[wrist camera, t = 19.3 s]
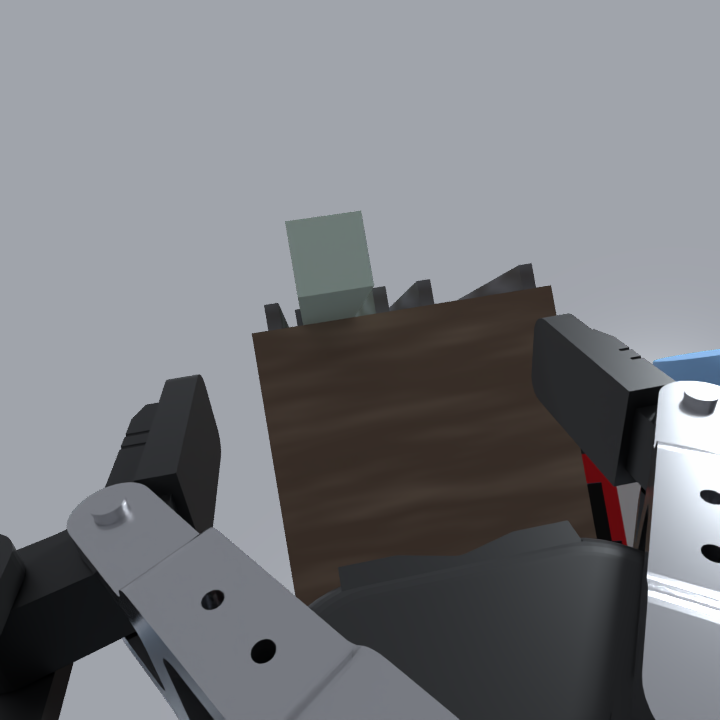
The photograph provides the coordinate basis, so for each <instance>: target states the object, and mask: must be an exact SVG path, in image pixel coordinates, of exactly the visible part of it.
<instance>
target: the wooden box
mask: <svg viewBox="0 0 720 720" xmlns="http://www.w3.org/2000/svg"><path fill="white" fill-rule="evenodd" d="M264 307H265V313H266V319H267V325H268V331H265V332H259V333H252V337H253V343H254V349H255V355H256V361H257V367H258V373H259V379H260V385H261V392H262V397H263V403H264V410H265V416H266V422H267V427H268V433H269V440H270V446H271V452H272V458H273V464H274V470H275V475H276V481H277V488H278V493H279V500H280V506H281V512H282V518H283V524H284V530H285V536H286V542H287V548H288V554H289V560H290V566H291V572H292V578H293V584H294V590H295V596H296V597H297V598H298V599H299V600H300V601H302V602H303V603H304V604H305V605H306V606H309V605H310V604H311V603H313V602H314V601H315V600H317V599H318V598H320V597H321V596H323V595H325V594H326V593H328V592H330V591H332V590H334V589H336V588H338V587H340V586H341V584H340V578H339V571H338V567H342V566H347V565H352V564H356V563H361V562H366V561H371V560H376V559H381V558H386V557H391V556H396V555H411V556H459V555H463V554H466V553H468V552H470V551H472V550H474V549H476V548H479V547H481V546H483V545H485V544H487V543H489V542H492V541H494V540H496V539H498V538H500V537H502V536H504V535H507V534H509V533H511V532H513V531H518V530H523V529H528V528H532V527H537V526H542V525H547V524H552V523H557V522H562V521H567V520H568V521H569V523H570V524H571V526H572V527H573V528H574V530H575V531H576V533H577V534H578V536H579V537H580V538H593V539H597V537H596V532H595V526H594V521H593V515H592V510H591V504H590V498H589V493H588V487H587V482H586V476H585V471H584V465H583V460H582V454H581V449H580V447H579V446H578V445H577V444H576V442H575V441H574V440H573V439H572V438H571V437H570V436H569V434H568V433H567V432H566V431H565V430H564V429H563V427H562V426H561V425H560V424H559V423H558V422H557V421H556V419H555V418H554V417H553V416H552V415H551V414H550V412H549V411H548V410H547V409H546V408H545V407H544V405H543V404H542V403H541V402H540V401H539V400H538V398H537V396H536V394H535V392H534V389H533V385H532V377H531V375H532V357H533V340H534V327H535V323H536V321H537V320H538V319H540V318H545V317H551V316H556V311H555V305H554V300H553V294H552V289H551V286H544V287H538V288H536V286H535V280H534V274H533V269H532V264H531V263H530V264H524V265H519V266H517V267H515V268H514V269H511V270H510V271H508V272H506V273H504V274H503V275H501V276H499V277H497V278H496V279H494V280H492V281H490V282H489V283H487V284H485V285H484V286H481V287H480V288H478V289H476V290H474V291H473V292H471V293H469V294H468V295H466V296H464V297H462V298H460V299H459V300H457V301H451V302H445V303H439V304H434V300H433V294H432V288H431V283H430V280H422V281H417V282H416V283H414V285H412V286H411V287H410V288H409V289H408V290H407V291H406V292H405V293H404V294H403V295H402V296H401V297H400V298H399V299H398V300H397V301H396V302H395V303H394V304H393V305H392V306H391V307H390V308H389V305H388V300H387V294H386V288H385V286H383V287H377V288H372V290H371V291H370V293H369V295H368V296H367V298H366V299H365V301H364V302H363V304H362V306H361V307H360V309H359V310H358V312H357V314H356V315H355V317H352V318H345V319H339V320H333V321H327V322H321V323H314V324H308V325H302V326H296V327H289V326H288V324H287V322H286V319H285V317H284V315H283V313H282V311H281V308H280V306H279V304H278V303H275V304H269V305H264Z"/></svg>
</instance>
